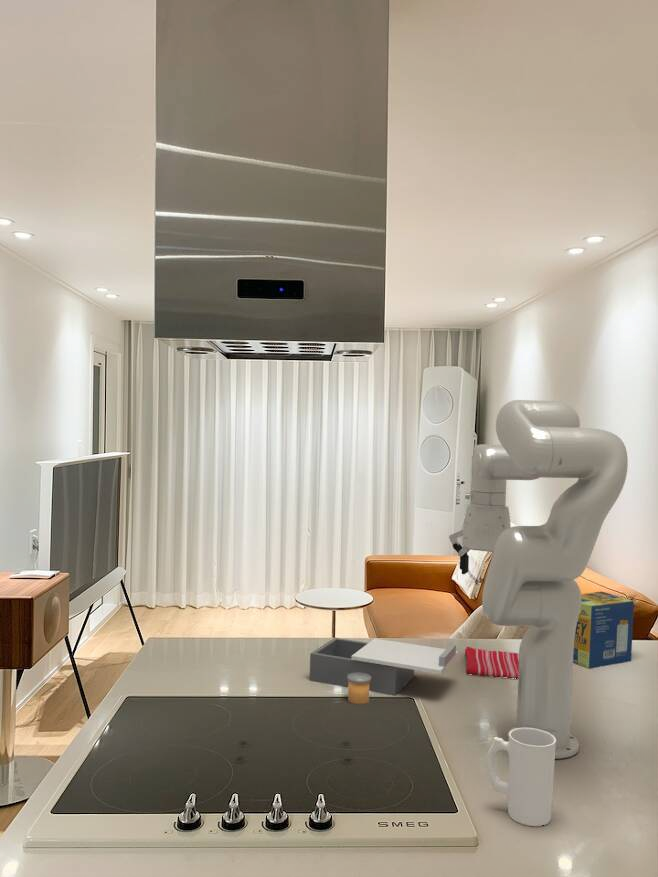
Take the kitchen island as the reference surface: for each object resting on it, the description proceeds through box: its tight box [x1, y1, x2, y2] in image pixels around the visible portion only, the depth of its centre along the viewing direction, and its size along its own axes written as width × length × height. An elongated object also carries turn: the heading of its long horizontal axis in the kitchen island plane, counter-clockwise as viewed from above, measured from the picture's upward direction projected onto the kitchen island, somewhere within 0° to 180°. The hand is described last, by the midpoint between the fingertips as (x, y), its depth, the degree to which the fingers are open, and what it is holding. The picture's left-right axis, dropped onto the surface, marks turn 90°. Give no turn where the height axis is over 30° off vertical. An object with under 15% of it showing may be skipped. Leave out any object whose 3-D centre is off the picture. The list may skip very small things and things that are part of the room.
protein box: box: [573, 591, 635, 669], centre depth 191 cm, size 10×15×16 cm
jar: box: [347, 672, 371, 705], centre depth 159 cm, size 5×5×5 cm
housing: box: [309, 637, 415, 696], centre depth 172 cm, size 14×20×6 cm
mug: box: [485, 728, 556, 827], centre depth 114 cm, size 10×7×12 cm, turn 68°
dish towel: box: [464, 646, 519, 680], centre depth 182 cm, size 17×24×3 cm
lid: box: [351, 638, 459, 675], centre depth 168 cm, size 15×20×3 cm
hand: (485, 575), depth 170 cm, fingers open, 9 cm apart
